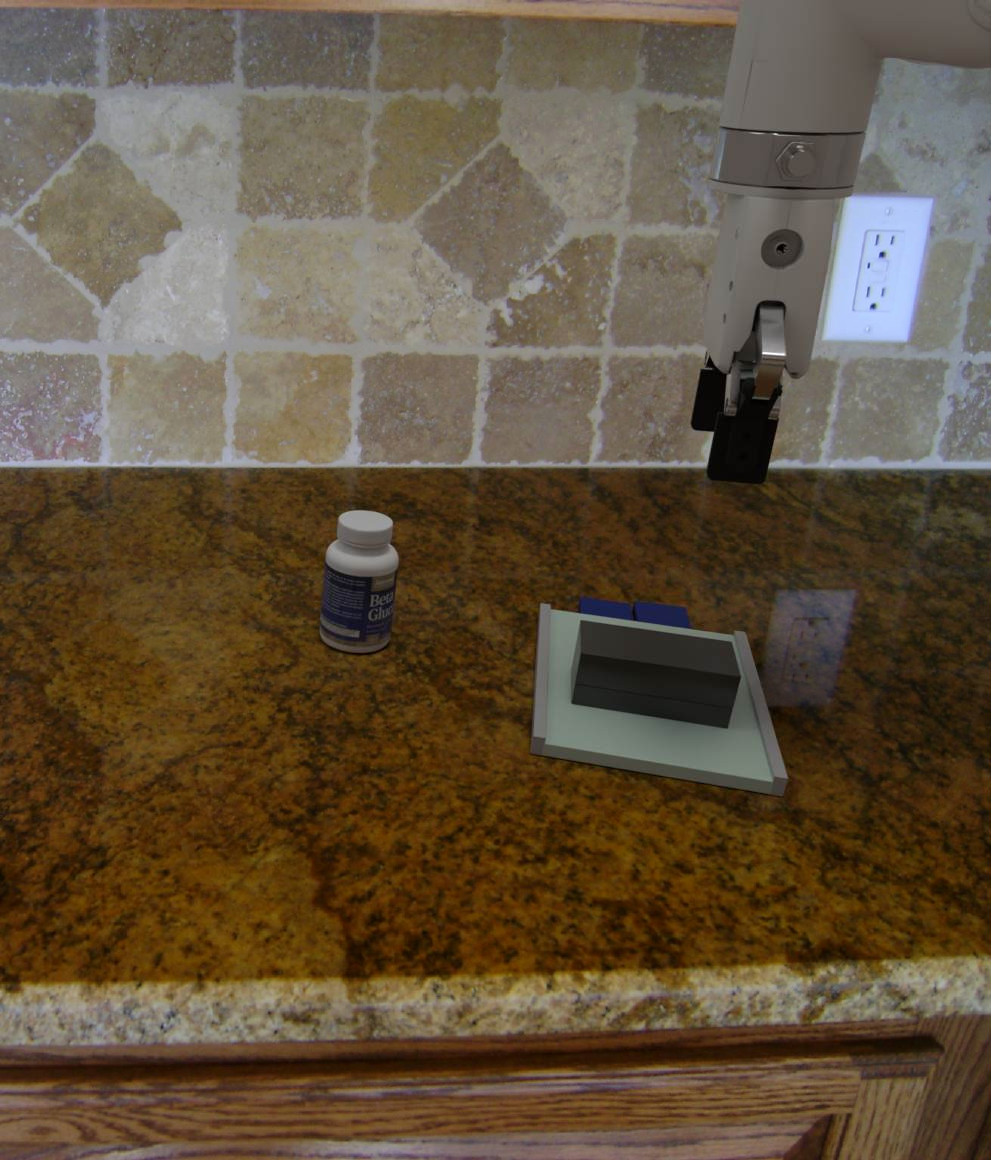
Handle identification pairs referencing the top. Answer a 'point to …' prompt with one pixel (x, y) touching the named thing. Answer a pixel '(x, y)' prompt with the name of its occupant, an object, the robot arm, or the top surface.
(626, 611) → the smudge
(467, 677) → the top surface
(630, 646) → the eraser
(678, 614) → the smudge
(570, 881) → the top surface
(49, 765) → the top surface
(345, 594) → the pill bottle
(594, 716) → the board
